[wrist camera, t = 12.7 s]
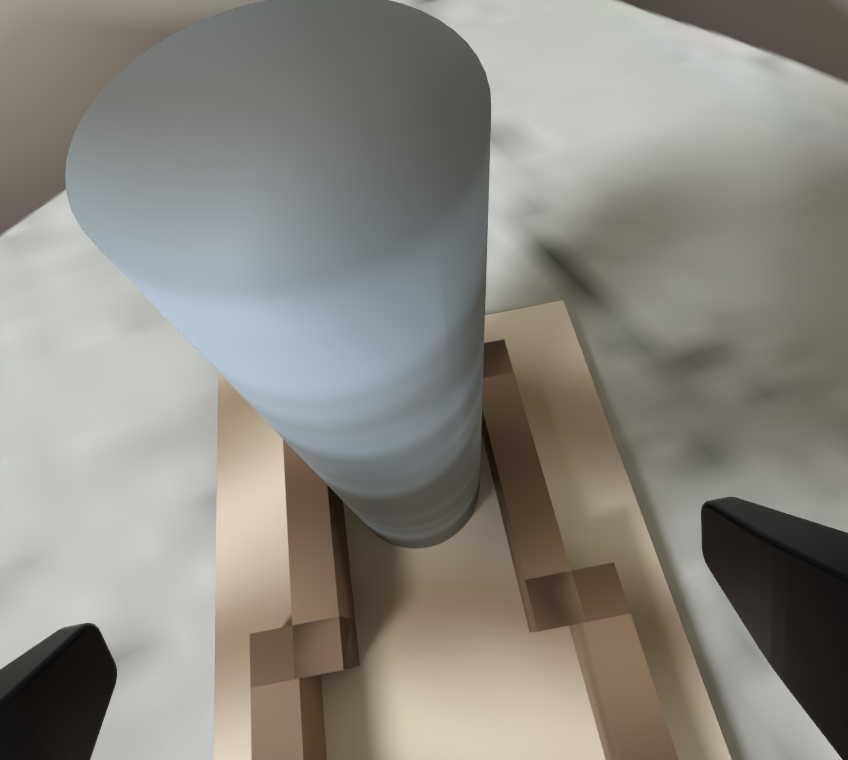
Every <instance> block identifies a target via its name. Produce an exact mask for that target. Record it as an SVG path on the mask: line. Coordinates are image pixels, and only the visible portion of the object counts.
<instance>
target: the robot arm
mask: <svg viewBox="0 0 848 760" xmlns="http://www.w3.org/2000/svg"><path fill="white" fill-rule="evenodd" d="M701 525H702V552H703V556H704V559H705V562H706V564H707V566H708V568H709V569H710V571H711V572H712V574H713V576H714V577H715V579H716V580H717V582H718V584H719V585H720V587H721V588H722V590H723V591H724V593H725V595H726V596H727V598H728V599H729V601H730V603H731V604H732V606H733V607H734V609H735V611H736V612H737V614H738V615H739V617H740V619H741V620H742V622H743V623H744V625H745V626H746V628H747V630H748V631H749V633H750V634H751V636H752V638H753V639H754V641H755V642H756V644H757V646H758V647H759V649H760V650H761V652H762V653H763V655H764V656H765V658H766V659H767V661H768V662H769V664H770V665H771V666H772V668H773V669H774V671H775V672H776V673H777V675H778V676H779V677H780V679H781V680H782V681H783V683H784V684H785V685H786V687H787V688H788V689H789V691H790V692H791V693H792V694H793V696H794V697H795V698H796V700H797V701H798V702H799V704H800V705H801V706H802V707H803V709H804V710H805V711H806V713H807V714H808V715H809V717H810V718H811V719H812V720H813V722H814V723H815V724H816V726H817V727H818V728H819V730H820V731H821V732H822V733H823V735H824V736H825V737H826V739H827V740H828V741H829V743H830V744H831V745H832V746H833V748H834V749H835V750H836V752H837V753H838V754H839V756H840V757H841V758H842V759H843V760H848V533H846V532H843V531H840V530H837V529H834V528H830V527H827V526H824V525H821V524H818V523H815V522H811V521H808V520H805V519H802V518H799V517H796V516H793V515H789V514H786V513H783V512H780V511H777V510H774V509H770V508H767V507H764V506H761V505H758V504H755V503H752V502H748V501H745V500H742V499H739V498H736V497H726V498H721V499H716V500H711V501H707V502H705V503H704V504H703V506H702V510H701ZM116 679H117V668H116V664H115V661H114V659H113V657H112V655H111V653H110V651H109V649H108V647H107V644H106V642H105V640H104V638H103V636H102V634H101V632H100V630H99V628H98V627H97V626H96V625H94V624H92V623H84V624H79V625H74V626H69V627H64V628H62V629H60V630H58V631H56V632H55V633H53V634H52V635H51V636H49V637H48V638H46V639H45V640H43V641H42V642H40V643H39V644H37V645H36V646H34V647H33V648H31V649H30V650H28V651H27V652H26V653H24V654H23V655H21V656H20V657H18V658H17V659H15V660H14V661H12V662H11V663H9V664H8V665H6V666H5V667H3V668H2V669H0V760H90V758H91V755H92V752H93V750H94V747H95V744H96V741H97V738H98V735H99V732H100V729H101V726H102V723H103V720H104V717H105V714H106V711H107V708H108V705H109V702H110V699H111V696H112V693H113V690H114V687H115V684H116Z"/></svg>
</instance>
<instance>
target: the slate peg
mask: <svg viewBox="0 0 848 760" xmlns="http://www.w3.org/2000/svg"><path fill="white" fill-rule="evenodd" d="M490 131H491V97H490V88H489V84H488V80H487V76H486V73H485V71H484V69H483V67H482V65H481V63H480V61H479V59H478V57H477V55H476V54H475V53H474V51H473V50H472V49H471V47H470V46H469V45H468V43H467V42H466V41H465V40H464V39H463V38H462V37H460V36H459V35H458V34H457V33H456V32H455V31H454V30H453V29H451V28H450V27H448V26H447V25H446V24H444V23H443V22H441V21H440V20H438V19H436V18H434V17H432V16H430V15H428V14H427V13H425V12H423V11H421V10H418V9H415V8H412V7H410V6H407V5H404V4H402V3H398V2H394V1H390V0H265V1H262V2H257V3H253V4H248V5H245V6H242V7H238V8H235V9H232V10H228V11H225V12H222V13H220V14H217V15H214V16H212V17H209V18H207V19H204V20H202V21H200V22H197V23H195V24H193V25H191V26H189V27H187V28H185V29H182V30H180V31H178V32H177V33H175V34H173V35H171V36H170V37H168V38H166V39H165V40H163V41H161V42H159V43H158V44H156V45H155V46H153V47H152V48H150V49H149V50H147V51H146V52H145V53H143V54H141V55H140V56H139V57H138V58H136V59H135V60H134V61H133V62H131V63H130V64H129V65H128V66H126V67H125V68H124V69H123V70H122V71H121V72H120V73H119V74H117V75H116V76H115V78H113V79H112V80H111V81H110V82H109V83H108V84H107V85H106V87H105V88H104V89H103V90H102V91H101V92H100V94H99V95H98V96H97V97H96V99H95V100H94V101H93V102H92V104H91V106H90V107H89V108H88V110H87V112H86V113H85V115H84V116H83V118H82V119H81V121H80V124H79V126H78V128H77V130H76V132H75V134H74V136H73V139H72V142H71V145H70V149H69V152H68V156H67V164H66V172H65V178H66V191H67V196H68V199H69V203H70V206H71V210H72V212H73V214H74V216H75V218H76V219H77V221H78V223H79V225H80V227H81V229H82V230H83V231H84V232H85V233H86V234H87V236H88V237H89V238H90V239H91V240H92V241H93V243H94V244H95V245H96V246H97V247H98V248H99V249H100V250H101V251H102V252H103V253H104V254H105V255H106V256H107V257H108V258H109V259H110V260H111V261H112V262H113V264H114V265H115V266H116V267H117V268H118V269H119V270H120V271H121V272H122V273H123V274H124V275H125V276H126V277H127V278H128V279H129V280H130V281H131V282H132V283H133V284H134V285H135V286H136V287H137V288H138V289H139V290H140V291H141V292H142V294H143V295H144V296H145V297H146V298H147V299H148V300H149V301H150V302H151V303H152V304H153V305H154V306H155V307H156V308H157V309H158V310H159V311H160V312H161V313H162V314H163V315H164V316H165V317H166V318H167V319H168V320H169V321H170V322H171V323H172V325H173V326H174V327H175V328H176V329H177V330H178V331H179V332H180V333H181V334H182V335H183V336H184V337H185V338H186V339H187V340H188V341H189V342H190V343H191V344H192V345H193V346H194V347H195V348H196V349H197V350H198V351H199V352H200V353H201V355H202V356H203V357H204V358H205V359H206V360H207V361H208V362H209V363H210V364H211V365H212V366H213V367H214V368H215V369H216V370H217V371H218V372H219V373H220V374H221V375H222V376H223V377H224V378H225V379H226V380H227V381H228V382H229V383H230V385H231V386H232V387H233V388H234V389H235V390H236V391H237V392H238V393H239V394H240V395H241V396H242V397H243V398H244V399H245V400H246V401H247V402H248V403H249V404H250V405H251V406H252V407H253V408H254V409H255V410H256V411H257V412H258V413H259V415H260V416H261V417H262V418H263V419H264V420H265V421H266V422H267V423H268V424H269V425H270V426H271V427H272V428H273V429H274V430H275V431H276V432H277V433H278V434H279V435H280V436H281V437H282V438H283V439H284V440H285V441H286V442H287V443H288V444H289V446H290V447H291V448H292V449H293V450H294V451H295V452H296V453H297V454H298V455H299V456H300V457H301V458H302V459H303V460H304V461H305V462H306V463H307V464H308V465H309V466H310V467H311V468H312V469H313V470H314V471H315V472H316V473H317V474H318V476H319V477H320V478H321V479H322V480H323V481H324V482H325V483H326V484H327V485H328V486H329V487H330V488H331V489H332V490H333V491H334V492H335V493H336V494H337V495H338V496H339V497H340V498H341V499H342V500H343V501H344V502H345V503H346V504H347V506H348V507H349V508H350V509H351V510H352V511H353V512H354V513H355V514H356V515H357V516H358V517H359V518H360V519H361V520H362V521H363V522H364V523H365V524H366V525H367V526H368V527H369V528H370V529H371V530H372V531H373V532H374V533H375V534H376V535H377V536H378V537H380V538H381V539H383V540H385V541H386V542H388V543H391V544H393V545H396V546H399V547H403V548H410V549H421V548H428V547H432V546H435V545H438V544H440V543H443V542H445V541H447V540H448V539H450V538H452V537H453V536H454V535H455V534H457V533H458V532H459V531H460V530H461V529H462V528H463V527H464V526H465V525H466V523H467V522H468V521H469V519H470V517H471V516H472V514H473V512H474V510H475V507H476V505H477V501H478V497H479V489H480V460H481V427H482V394H483V361H484V328H485V295H486V262H487V230H488V197H489V164H490Z"/></svg>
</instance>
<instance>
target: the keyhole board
mask: <svg viewBox="0 0 848 760" xmlns="http://www.w3.org/2000/svg"><path fill="white" fill-rule="evenodd" d="M214 760H732V759H731V756H730V754H729V751H728V748H727V745H726V743H725V740H724V737H723V735H722V732H721V729H720V726H719V724H718V721H717V718H716V715H715V713H714V710H713V707H712V705H711V702H710V699H709V696H708V694H707V691H706V688H705V685H704V683H703V680H702V677H701V675H700V672H699V669H698V666H697V664H696V661H695V658H694V655H693V653H692V650H691V647H690V645H689V642H688V639H687V636H686V634H685V631H684V628H683V625H682V623H681V620H680V617H679V614H678V612H677V609H676V606H675V604H674V601H673V598H672V595H671V593H670V590H669V587H668V584H667V582H666V579H665V576H664V574H663V571H662V568H661V565H660V563H659V560H658V557H657V554H656V552H655V549H654V546H653V544H652V541H651V538H650V535H649V533H648V530H647V527H646V524H645V522H644V519H643V516H642V514H641V511H640V508H639V505H638V503H637V500H636V497H635V494H634V492H633V489H632V486H631V483H630V481H629V478H628V475H627V473H626V470H625V467H624V464H623V462H622V459H621V456H620V453H619V451H618V448H617V445H616V443H615V440H614V437H613V434H612V432H611V429H610V426H609V423H608V421H607V418H606V415H605V413H604V410H603V407H602V404H601V402H600V399H599V396H598V393H597V391H596V388H595V385H594V383H593V380H592V377H591V374H590V372H589V369H588V366H587V363H586V361H585V358H584V355H583V352H582V350H581V347H580V344H579V342H578V339H577V336H576V333H575V331H574V328H573V325H572V322H571V320H570V317H569V314H568V312H567V309H566V306H565V303H564V301H563V300H560V301H555V302H550V303H545V304H540V305H535V306H530V307H524V308H519V309H514V310H509V311H504V312H499V313H494V314H489V315H485V328H484V361H483V394H482V427H481V460H480V489H479V497H478V501H477V505H476V507H475V510H474V512H473V514H472V516H471V517H470V519H469V521H468V522H467V523H466V525H465V526H464V527H463V528H462V529H461V530H460V531H459V532H458V533H457V534H455V535H454V536H453V537H452V538H450V539H448V540H447V541H445V542H443V543H440V544H438V545H435V546H432V547H428V548H421V549H410V548H403V547H399V546H396V545H393V544H391V543H388V542H386V541H385V540H383V539H381V538H380V537H378V536H377V535H376V534H375V533H374V532H373V531H372V530H371V529H370V528H369V527H368V526H367V525H366V524H365V523H364V522H363V521H362V520H361V519H360V518H359V517H358V516H357V515H356V514H355V513H354V512H353V511H352V510H351V509H350V508H349V507H348V506H347V504H346V503H345V502H344V501H343V500H342V499H341V498H340V497H339V496H338V495H337V494H336V493H335V492H334V491H333V490H332V489H331V488H330V487H329V486H328V485H327V484H326V483H325V482H324V481H323V480H322V479H321V478H320V477H319V476H318V474H317V473H316V472H315V471H314V470H313V469H312V468H311V467H310V466H309V465H308V464H307V463H306V462H305V461H304V460H303V459H302V458H301V457H300V456H299V455H298V454H297V453H296V452H295V451H294V450H293V449H292V448H291V447H290V446H289V444H288V443H287V442H286V441H285V440H284V439H283V438H282V437H281V436H280V435H279V434H278V433H277V432H276V431H275V430H274V429H273V428H272V427H271V426H270V425H269V424H268V423H267V422H266V421H265V420H264V419H263V418H262V417H261V416H260V415H259V413H258V412H257V411H256V410H255V409H254V408H253V407H252V406H251V405H250V404H249V403H248V402H247V401H246V400H245V399H244V398H243V397H242V396H241V395H240V394H239V393H238V392H237V391H236V390H235V389H234V388H233V387H232V386H231V385H230V383H229V382H228V381H227V380H226V379H225V378H224V377H223V376H222V375H221V374H220V373H219V372H218V445H217V530H216V614H215V699H214Z"/></svg>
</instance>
